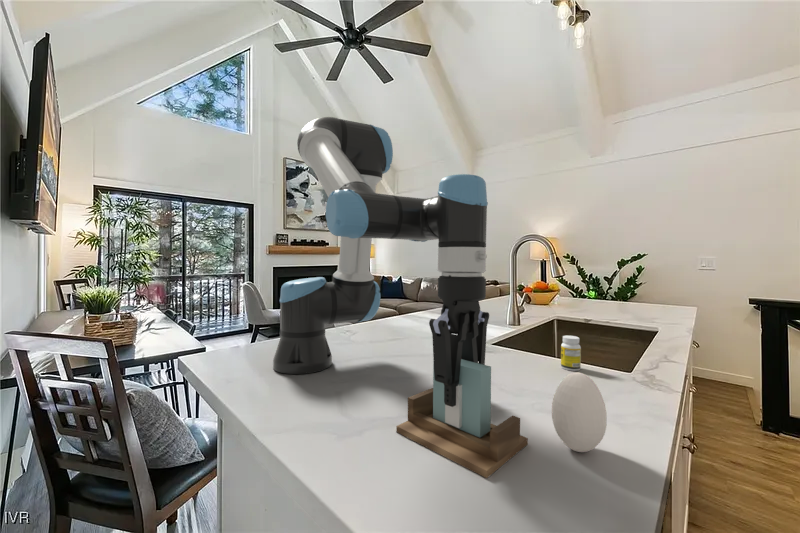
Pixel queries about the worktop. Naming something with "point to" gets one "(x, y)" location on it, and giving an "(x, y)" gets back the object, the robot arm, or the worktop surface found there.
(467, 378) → the door slab
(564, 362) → the supplement bottle
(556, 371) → the worktop surface
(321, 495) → the worktop surface
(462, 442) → the wooden holder rack
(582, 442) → the egg
